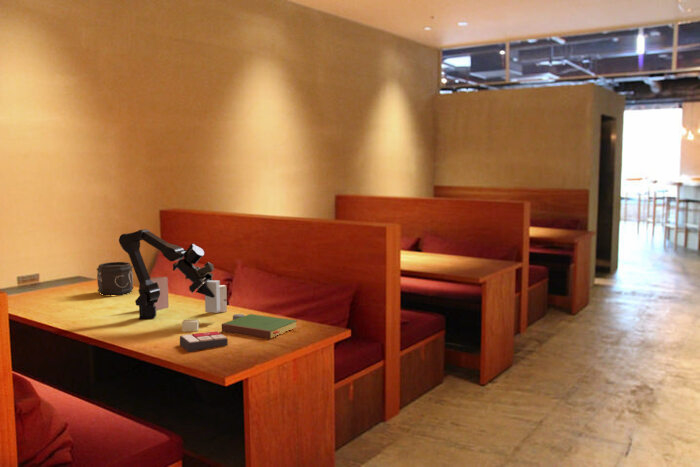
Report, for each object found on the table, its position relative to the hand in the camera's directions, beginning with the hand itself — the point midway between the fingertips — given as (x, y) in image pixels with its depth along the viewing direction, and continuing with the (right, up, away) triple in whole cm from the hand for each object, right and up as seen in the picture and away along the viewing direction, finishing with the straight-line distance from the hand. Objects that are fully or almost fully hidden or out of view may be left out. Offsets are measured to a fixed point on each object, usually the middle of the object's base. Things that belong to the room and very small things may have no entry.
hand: (215, 295), depth 262 cm
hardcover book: (+21, -14, -12) cm, 28 cm away
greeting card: (-33, -9, +24) cm, 42 cm away
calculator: (+3, -16, -33) cm, 37 cm away
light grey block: (-1, -7, +1) cm, 7 cm away
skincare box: (-3, -10, +20) cm, 23 cm away
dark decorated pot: (-67, -5, +64) cm, 93 cm away
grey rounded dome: (+10, -12, +1) cm, 15 cm away
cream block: (-8, -13, -11) cm, 19 cm away
